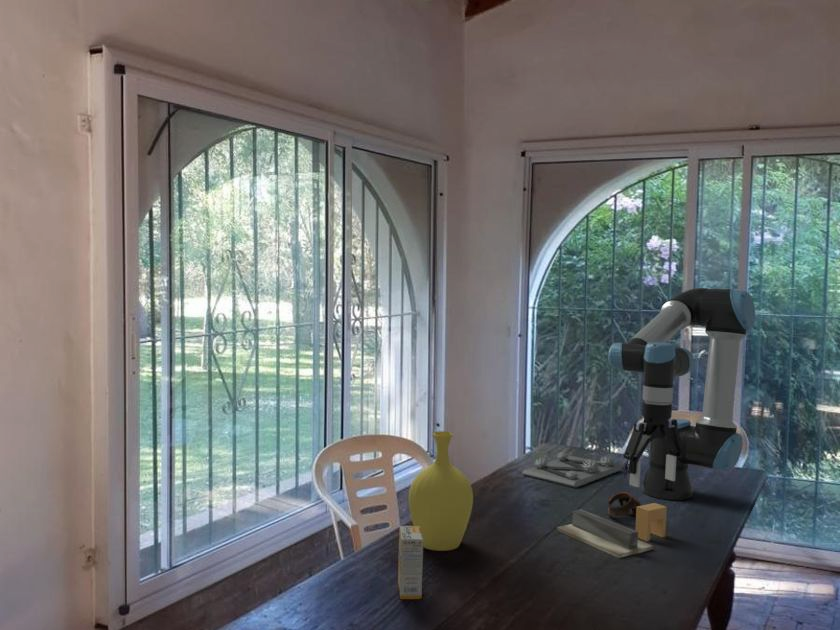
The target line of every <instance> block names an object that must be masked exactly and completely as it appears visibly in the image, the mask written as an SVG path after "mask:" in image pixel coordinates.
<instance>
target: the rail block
mask: <svg viewBox="0 0 840 630" xmlns="http://www.w3.org/2000/svg"><path fill="white" fill-rule="evenodd" d="M556 532H559V533H561V534H564V535H566V536H568V537H570V538H572V539H575V540H577V541H578V542H581V543H584V544H586V545H588V546H590V547H593V548H594V549H597V550H600V551H601V552H604V553H606V554H609V555H610V556H613V557H615V558H617V559H621V558H624V557H625V558H626V557H628V556H633V555H636V554H641V553H645V552H648V551H649V552H650V551H653V549H654V546H653V545H652V544H649V543H647V542H646V541H642V540H641V539H639V538H638V532H637V531H635V530H634V529H632V528H630V527H627V526H624V525H622V524H621V523H617V522H614V521H612V520H609V519H607V518H605V517H601V516H599V515H597V514H594V513H591V512H589V511H586V510H584V509H581V508H580V509H576V510H572V523H571V524H565V525H561V526H556Z"/></svg>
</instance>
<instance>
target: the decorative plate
mask: <svg viewBox="0 0 840 630" xmlns="http://www.w3.org/2000/svg"><path fill="white" fill-rule="evenodd" d="M546 459H547V458H546ZM546 459H545V458H544V459H543V458H542V457H539V459H537V458H536V460H535V462H533V466H532V467H529V468H525V469H524V470H523V471H522V472H521V473H522V476H525V477H529V478H532V479H533V478H534V479H537V480H542V481H546V482H548V483H549V482H550V483H553V484H558V485H562V486H565V487H569V488H570V487H571V488H574V489H577V488H579V487H582V486H585V485H588V484H590V482H591V483H593V482H596V481H598V480H601V479H603V477H604V478H607V477H609V476H611V474H612V475H614V474H616V472H617V473H619V472H620V471H622V469H621V467H620V466H619V465H616V464H615V460H614V459H613V458H612V457H611V456H609V457H607V456H604V457H603V456H601V458H600V461H599V460H596V459H594V460H592V459H589V458H584V457H579V456H574V455H569V454H567V452H566V451H565V452H563V451H561V452H558V453H557V455H556V459H553V460H551V461H546ZM613 473H614V474H613ZM608 475H609V476H608ZM595 480H596V481H595Z"/></svg>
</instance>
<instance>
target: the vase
mask: <svg viewBox="0 0 840 630" xmlns="http://www.w3.org/2000/svg"><path fill="white" fill-rule="evenodd" d="M432 435H433V438H434V442H435V445H436V454H435V459H434V461H433V462H432V464H430V465H429V466H427V467H426V468H424V469H422V470H421V471H420V472H419V473H418V474H417V475H416V476H415V478H414V479H413V481H412V482H411V484H410V487H409V491H408V507H409V513H410V518H411V521H412V524H413V525H412V526H420V528H421V532H422V536H423V549H427V550H430V551H439V552H441V551H443V552H444V551H452V550H456V549H457V548H458V547H459V548H460V545H461V543H462V540H463V538H464V535H465V534H466V533H465V532H466V531H467V527H468V524H469V521H470V518H471V514H472V511H473V504H474V492H473V488H472V485H471V483H470V481H469V479H468V478H467V477H466V476H465V474H464V473H463V472H462V471H460V470H459V469H458V468H457V467H455V466H453V464H451V461H450V459H449V458H450V457H449V447H450V443H451V440H452V438H453V435H454V434H453V432H450V431H443V430H442V431H441V430H440V431H434V432H433V433H432Z"/></svg>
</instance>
